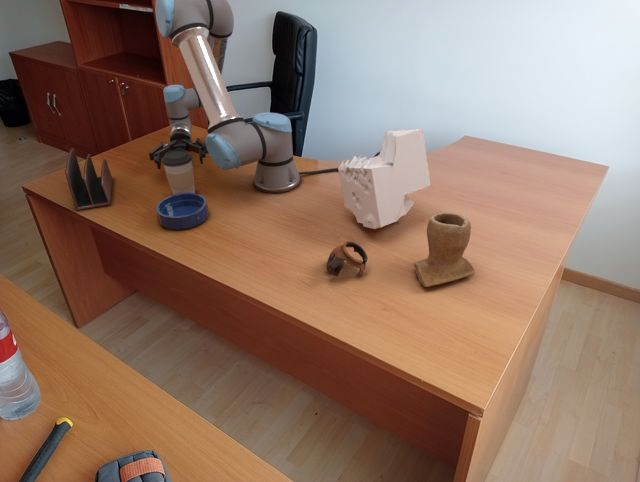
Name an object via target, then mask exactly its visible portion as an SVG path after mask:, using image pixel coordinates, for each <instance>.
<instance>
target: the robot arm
mask: <svg viewBox="0 0 640 482" xmlns="http://www.w3.org/2000/svg"><path fill="white" fill-rule="evenodd" d="M155 19H156V24H157V28H158V31H159V34H160V35H161V37H163V38H166V39H168V38H169V39H170V42H171V44H172V46H173V47H174V48H177V49H179V50H180V53H181V56H182V59H183V61H184V63H185V66H186V68H187V70H188V73H189V75H190V78H191V80H192V84H193V86H194V87H191V88H185V87H184V86H183V85H181V84H170V85H167V86H165V87H164V88H163V98H164V104H165V108H166V112H167V116H168V123H169V127H170V131H169V133H170V134H169V142H168V143H164V141H160V142H159V145H157V146H156V147H155V148H153V149H152V150H151V151H150V152H149V153H148V156H149V160H150V161H154V164H156V166H157V169H158V170H162V169H161V168H162V158H163V157H164V156H165V154H166V153H167V152H169V151H172V150H175V149H178V148H180V149H184V150H185V151H186V152H188V153H191V152H192V153H195V154H198V157H199V164H200V165H203V164H204V159H206V157H207V156H206V155H209V157H210V159H211V160H212V162H213V163H214V164H215V166H217V167H218V168H219V169H221V170H223V171H229V170H233V169H239V168H240V167H242V166H247V165H250V164H252V163H253V164H254V163H256V162H257V164H256V169H255V173H254V178H253V182H254V186H255V188H256V189H258V190H259V191H261V192H263V193H267V194H268V193H269V194H279V193H280V194H281V193H285V192H289V191H292V190H294V189H296V188H297V187H298V186H299V185H300V183H301V175H302V176H303V175H314V174H323V173H327V172H328V173H329V172H337V171H338V167H334V168H327V169H326V168H325V169H319V170H313V171H312V170H311V171H299V170H298V168H297V165H296V163H295V161H294V151H293V134H292V132H293V129H292V123H291V119H290V118H289V117H288V116H286V115H284V114H281V113H278V112H258V113H255V115H253V116H252V122H250V123H246V121H245V119H244V116H242V115H240V114H238V113H237V112H236V109H235V107H234V104H233V102H232V99H231V97H230V94H229V92H228V89H227V87H226V83H225V81H224V79H223V76H222V75H223V71H224V64H225V59H226V52H227V47H228V41H229V38H230V37H231V36H233V32H234V26H235V18H234V13H233V9H232V8H231V5H230V3H229V2H228V0H155ZM200 108H203V110H204V113H205V115H206V118H207V121H208V127H207V128H206V131H207V135H206V136H205V139H204V141H205V142H204V141H202V140H201V139H200V138H199V137H197V138H196V139H195V140H192V139H193V138H192V129H193V127H192V126H193V125H192V122H191V119H190V113H189V111H192V110H196V109H200ZM379 155H380V151H377V152H376V153H375V155H373V157H376V156H379ZM338 172H339V171H338Z"/></svg>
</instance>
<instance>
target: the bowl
mask: <svg viewBox="0 0 640 482" xmlns="http://www.w3.org/2000/svg"><path fill="white" fill-rule="evenodd" d="M155 210H156V211H155V212H156V215H157V220H158V222H159V224H160V225H161V226H162V227H164V228H166V229H169V230H173V231H174V230H175V231H182V230H189V229H192V228H194V227H197V226H199V225H201V224H202V223H203V222H205V220H206V219H207V218H208V217H209V213H210V212H209V208H208V201H207V198H206V197H205V196H204V195H202V194H199V193H197V192H195V193H180V194H175V195H173V194H171V195H169V196H166V197H164V198H163V199H161V200H160V201H159V202H158V203H157V204H156V207H155Z"/></svg>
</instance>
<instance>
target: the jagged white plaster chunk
mask: <svg viewBox="0 0 640 482" xmlns="http://www.w3.org/2000/svg"><path fill="white" fill-rule="evenodd" d="M379 152H380V154H379V155H378V156H376V157H374V156H372V157H370V158H368V156H363V157H362V155H359V156H358V157H357V155H354V156H353V157H352V159H351V160H350V159H347V160H346V161H345V159H343V160H342V162H341V163H340V165H339V166H338V167H337V168H338V176H339V182H340V187H341V193H342V198H343V204H344V209H345V210H346V211H348V212H350V213H351V214H353V215H354V217H355V220H356V223H358V224H362V226H363V227H364V228H369V229H373V230H376V229H381V228H383V227H385V226H388V225H390V224H394V223H396V222H398V221H399V220H400V218H401V217H403V216H406V214H407V213H408V212H409V211H410V209H411V208H413V206H414V205H415V202H414V201H413V200H412V199H411V198H410V197H408V196H407V195H408V194H409V195H410V194H411V193H414V192H417V191H419V190H423V189H425V188H428V187H430V186H431V177H430V171H429V163H428V156H427V149H426V143H425V134H424V129H423V128H419V129H418V128H416V129H401V130H399V129H397V130H385V131H384V135H383V140H382V144H381V147H380V150H379ZM349 161H350V162H349Z"/></svg>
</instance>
